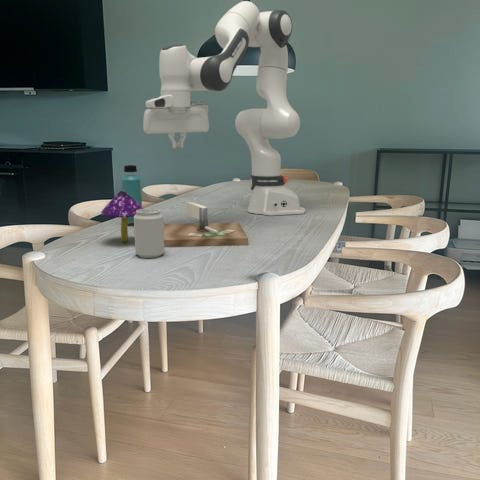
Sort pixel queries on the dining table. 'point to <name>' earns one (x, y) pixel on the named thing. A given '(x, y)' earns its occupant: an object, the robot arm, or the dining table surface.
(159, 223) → the can
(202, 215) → the cream lever
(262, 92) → the robot arm
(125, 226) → the decorative mushroom
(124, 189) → the beverage bottle
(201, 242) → the board
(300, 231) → the dining table surface
